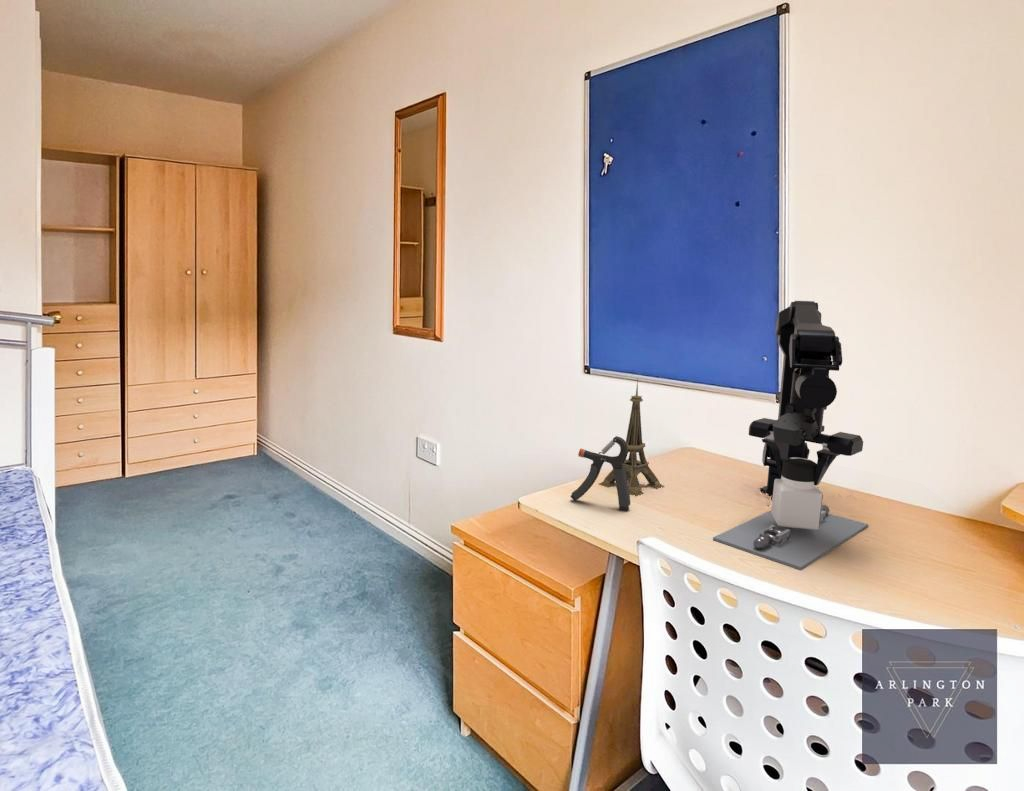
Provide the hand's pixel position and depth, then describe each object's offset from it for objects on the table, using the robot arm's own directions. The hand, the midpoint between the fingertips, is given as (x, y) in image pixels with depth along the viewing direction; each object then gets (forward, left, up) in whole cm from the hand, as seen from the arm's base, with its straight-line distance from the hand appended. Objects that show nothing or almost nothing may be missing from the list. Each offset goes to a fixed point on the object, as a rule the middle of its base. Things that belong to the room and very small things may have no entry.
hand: (798, 480), depth 121 cm
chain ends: (0, 0, -10) cm, 10 cm away
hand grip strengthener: (+17, -33, -11) cm, 39 cm away
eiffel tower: (+1, -37, -11) cm, 38 cm away
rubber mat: (0, 0, -10) cm, 10 cm away
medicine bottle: (0, 0, -8) cm, 8 cm away
